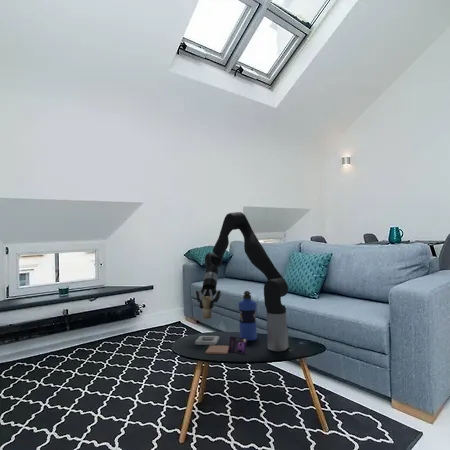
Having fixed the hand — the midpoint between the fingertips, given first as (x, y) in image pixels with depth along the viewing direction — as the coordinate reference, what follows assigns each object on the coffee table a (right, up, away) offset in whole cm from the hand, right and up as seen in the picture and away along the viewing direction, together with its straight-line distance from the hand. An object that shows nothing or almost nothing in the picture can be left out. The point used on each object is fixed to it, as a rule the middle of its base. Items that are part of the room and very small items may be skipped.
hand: (206, 307), depth 173 cm
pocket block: (+1, -18, +1) cm, 18 cm away
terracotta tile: (+7, -17, -14) cm, 23 cm away
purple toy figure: (+16, -17, -15) cm, 28 cm away
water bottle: (+22, -18, +5) cm, 29 cm away
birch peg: (0, -6, +2) cm, 6 cm away
